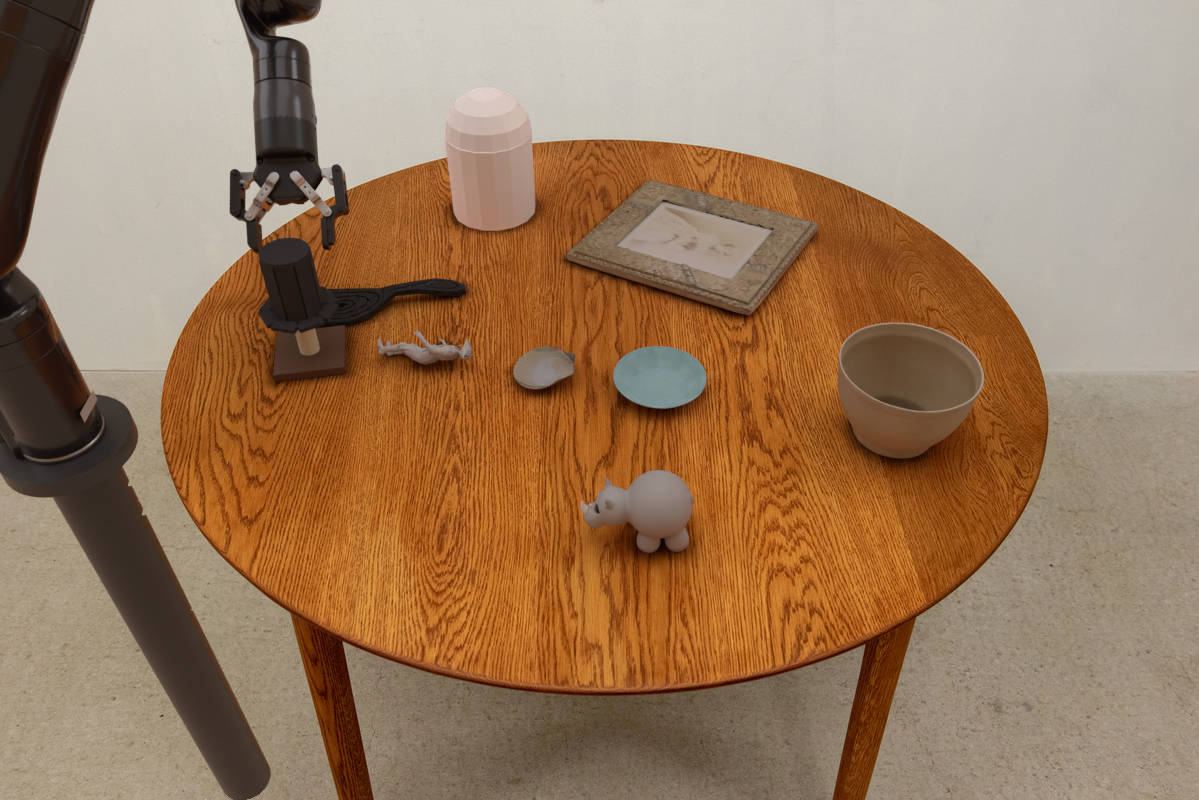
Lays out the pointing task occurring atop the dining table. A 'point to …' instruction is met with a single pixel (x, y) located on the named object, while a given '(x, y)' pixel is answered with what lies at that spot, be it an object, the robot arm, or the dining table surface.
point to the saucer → (659, 377)
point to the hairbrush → (384, 298)
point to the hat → (293, 288)
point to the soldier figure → (426, 350)
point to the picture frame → (696, 245)
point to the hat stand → (310, 353)
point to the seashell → (543, 367)
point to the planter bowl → (906, 386)
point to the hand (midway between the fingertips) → (292, 250)
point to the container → (490, 160)
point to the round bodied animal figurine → (646, 509)
